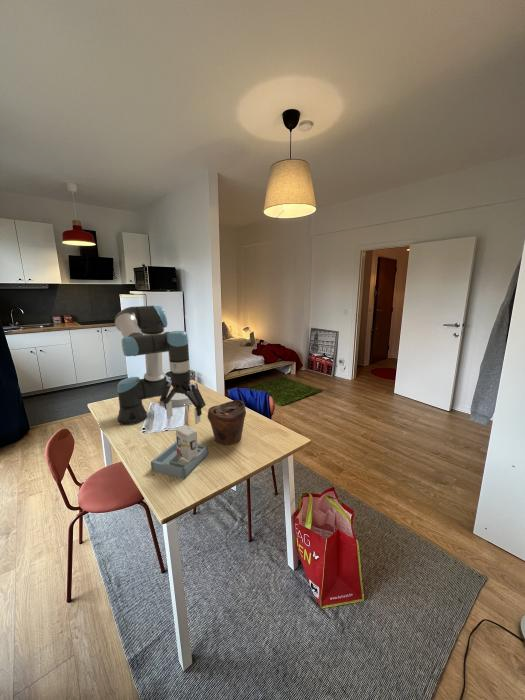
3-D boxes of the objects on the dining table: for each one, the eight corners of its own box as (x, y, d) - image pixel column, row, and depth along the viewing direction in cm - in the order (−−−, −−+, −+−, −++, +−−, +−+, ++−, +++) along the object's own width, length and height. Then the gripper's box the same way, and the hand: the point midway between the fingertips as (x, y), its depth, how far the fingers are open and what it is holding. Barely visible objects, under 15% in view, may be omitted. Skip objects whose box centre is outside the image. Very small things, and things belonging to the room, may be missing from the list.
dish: (205, 396, 195) (204, 389, 194) (184, 409, 175) (183, 402, 174) (179, 392, 204) (178, 385, 203) (156, 404, 184) (155, 396, 183)
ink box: (176, 454, 122) (174, 428, 120) (186, 449, 126) (184, 424, 123) (188, 462, 117) (186, 435, 114) (199, 456, 120) (197, 430, 118)
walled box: (151, 470, 118) (150, 461, 117) (178, 447, 134) (177, 439, 133) (184, 479, 112) (183, 470, 112) (208, 454, 129) (207, 446, 128)
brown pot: (200, 445, 136) (198, 410, 132) (221, 426, 154) (220, 394, 150) (234, 453, 130) (233, 416, 126) (251, 432, 148) (252, 400, 144)
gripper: (147, 369, 114) (152, 418, 119) (202, 377, 105) (205, 429, 110) (160, 364, 121) (164, 411, 126) (212, 371, 112) (214, 420, 117)
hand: (183, 419), depth 118 cm, fingers open, 13 cm apart
